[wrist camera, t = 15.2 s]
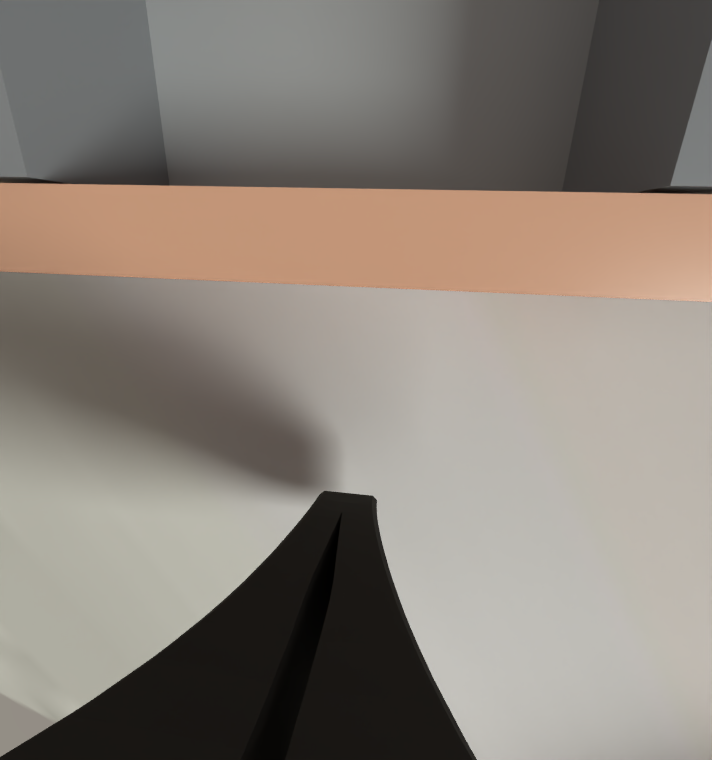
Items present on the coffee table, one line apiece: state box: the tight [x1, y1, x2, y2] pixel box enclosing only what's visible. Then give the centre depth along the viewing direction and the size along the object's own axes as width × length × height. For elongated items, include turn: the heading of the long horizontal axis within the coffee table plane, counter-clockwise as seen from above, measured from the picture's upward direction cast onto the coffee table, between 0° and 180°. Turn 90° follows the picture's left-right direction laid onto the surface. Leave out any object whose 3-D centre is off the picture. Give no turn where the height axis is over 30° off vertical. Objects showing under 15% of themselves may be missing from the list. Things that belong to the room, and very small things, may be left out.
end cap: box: [0, 183, 712, 302], centre depth 7 cm, size 12×1×4 cm, turn 89°
